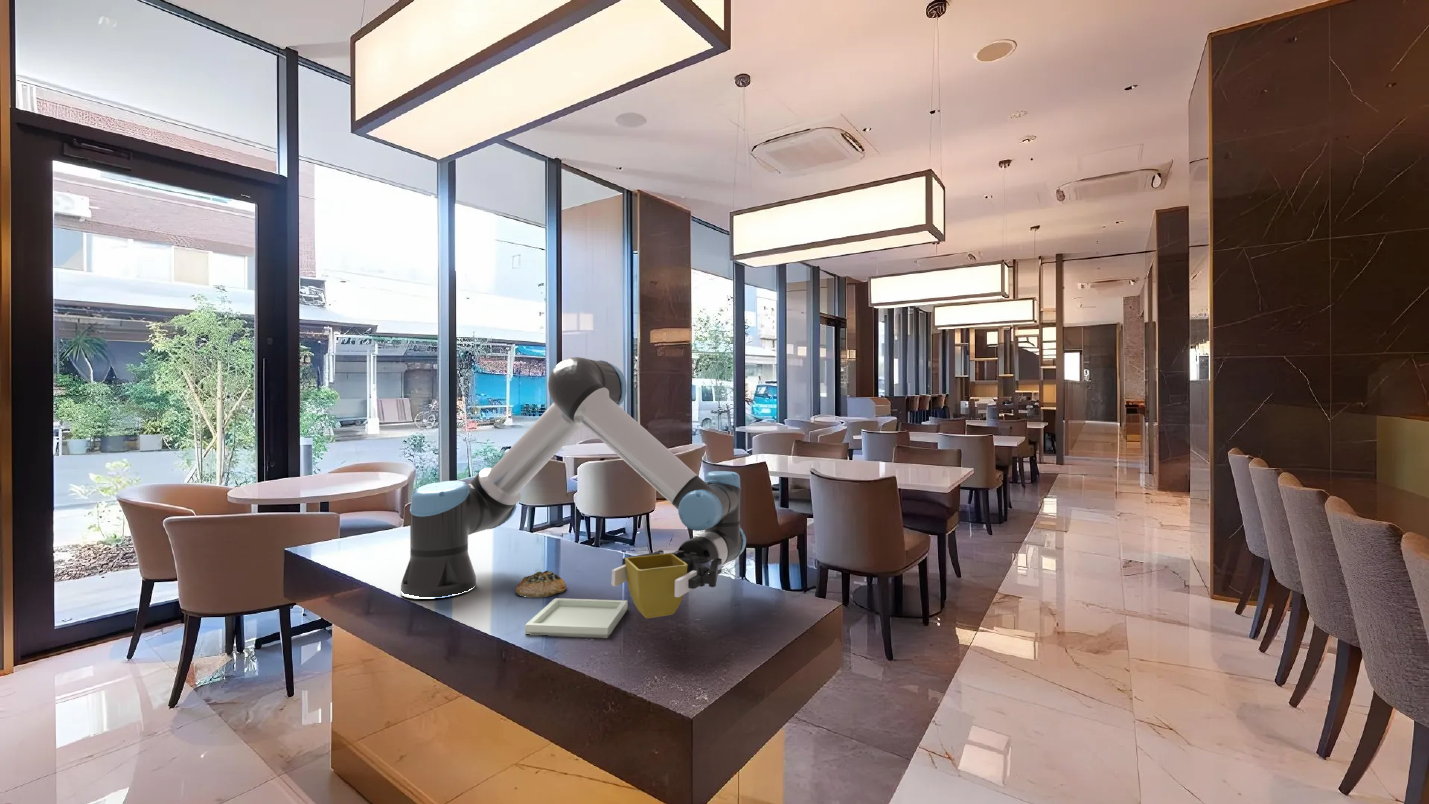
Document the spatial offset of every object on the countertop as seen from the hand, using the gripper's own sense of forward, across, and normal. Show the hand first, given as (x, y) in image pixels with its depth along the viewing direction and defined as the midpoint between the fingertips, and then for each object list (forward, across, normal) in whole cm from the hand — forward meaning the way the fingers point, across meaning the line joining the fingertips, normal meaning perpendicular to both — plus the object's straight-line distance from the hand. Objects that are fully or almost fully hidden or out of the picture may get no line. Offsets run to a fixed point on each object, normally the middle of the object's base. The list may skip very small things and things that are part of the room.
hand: (644, 583), depth 99 cm
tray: (-7, +18, -12) cm, 23 cm away
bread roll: (-19, +38, -12) cm, 44 cm away
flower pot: (-4, 0, -6) cm, 7 cm away
